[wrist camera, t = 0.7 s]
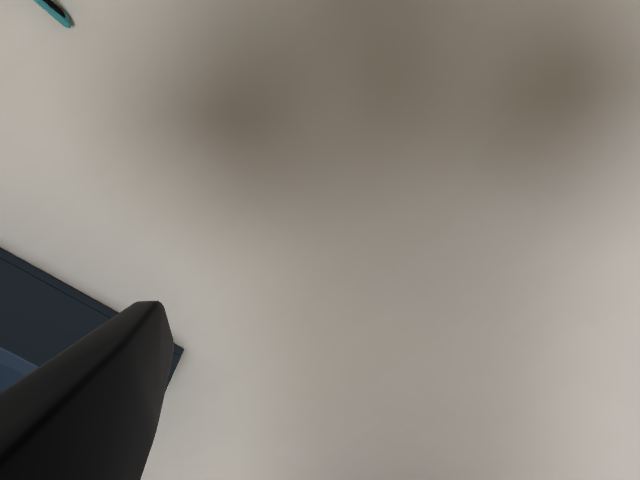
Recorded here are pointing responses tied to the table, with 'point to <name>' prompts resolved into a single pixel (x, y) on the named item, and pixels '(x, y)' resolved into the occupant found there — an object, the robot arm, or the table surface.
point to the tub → (43, 319)
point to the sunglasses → (55, 12)
